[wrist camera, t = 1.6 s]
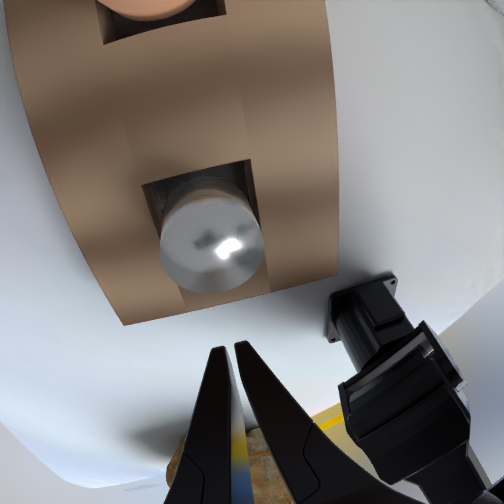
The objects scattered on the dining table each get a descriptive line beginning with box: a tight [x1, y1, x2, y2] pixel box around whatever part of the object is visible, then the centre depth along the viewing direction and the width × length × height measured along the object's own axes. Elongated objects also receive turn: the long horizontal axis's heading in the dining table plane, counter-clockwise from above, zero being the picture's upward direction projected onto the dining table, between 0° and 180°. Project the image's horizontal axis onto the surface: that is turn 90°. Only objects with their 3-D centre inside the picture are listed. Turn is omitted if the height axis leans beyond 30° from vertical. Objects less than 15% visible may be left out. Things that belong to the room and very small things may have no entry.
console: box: [4, 0, 339, 326], centre depth 13 cm, size 24×14×3 cm, turn 8°
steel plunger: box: [160, 176, 265, 293], centre depth 14 cm, size 4×4×3 cm
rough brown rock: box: [166, 428, 293, 504], centre depth 34 cm, size 23×17×15 cm
